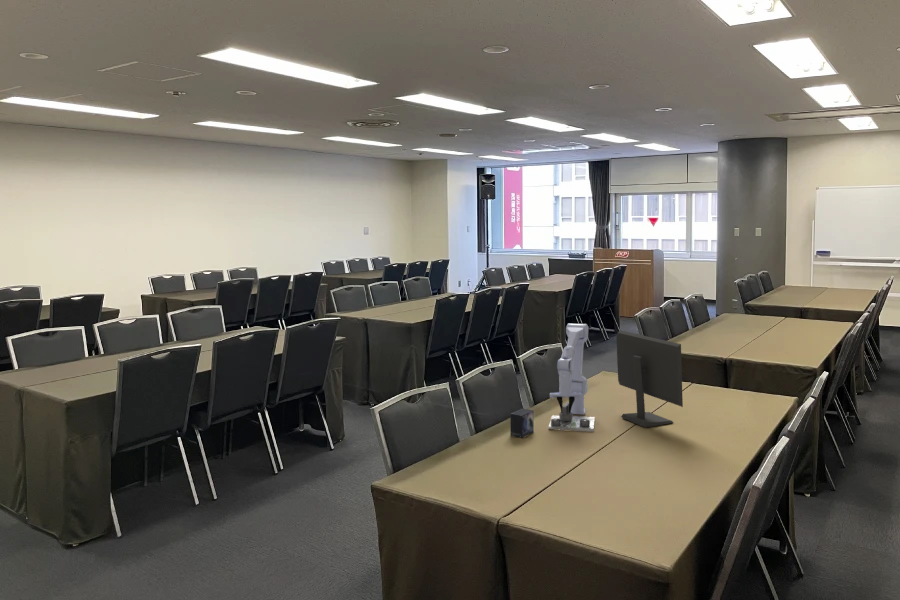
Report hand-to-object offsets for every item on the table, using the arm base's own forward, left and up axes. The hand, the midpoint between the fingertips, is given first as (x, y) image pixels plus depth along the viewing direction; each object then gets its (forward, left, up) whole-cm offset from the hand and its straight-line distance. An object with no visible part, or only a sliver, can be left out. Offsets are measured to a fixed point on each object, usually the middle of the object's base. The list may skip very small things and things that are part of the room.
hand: (565, 412), depth 315 cm
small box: (+19, -18, -6) cm, 27 cm away
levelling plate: (+2, +3, -5) cm, 6 cm away
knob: (-3, 0, -4) cm, 4 cm away
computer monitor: (-9, +37, -6) cm, 39 cm away
